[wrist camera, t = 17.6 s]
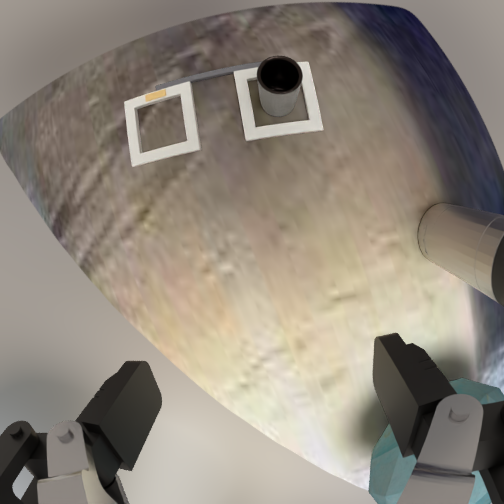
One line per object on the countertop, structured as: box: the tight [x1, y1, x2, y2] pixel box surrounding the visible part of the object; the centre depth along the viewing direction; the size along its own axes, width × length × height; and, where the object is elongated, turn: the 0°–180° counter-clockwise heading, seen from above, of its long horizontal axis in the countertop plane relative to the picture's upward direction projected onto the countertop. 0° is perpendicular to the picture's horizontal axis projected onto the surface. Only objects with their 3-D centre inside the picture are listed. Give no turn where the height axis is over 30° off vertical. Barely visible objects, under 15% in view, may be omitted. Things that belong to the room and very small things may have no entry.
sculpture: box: [369, 378, 504, 504], centre depth 31 cm, size 29×29×30 cm
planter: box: [257, 56, 303, 117], centre depth 29 cm, size 4×4×10 cm
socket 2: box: [234, 62, 323, 141], centre depth 34 cm, size 10×10×1 cm
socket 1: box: [124, 81, 202, 167], centre depth 35 cm, size 10×10×1 cm
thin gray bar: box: [156, 61, 263, 91], centre depth 33 cm, size 16×1×1 cm, turn 99°
